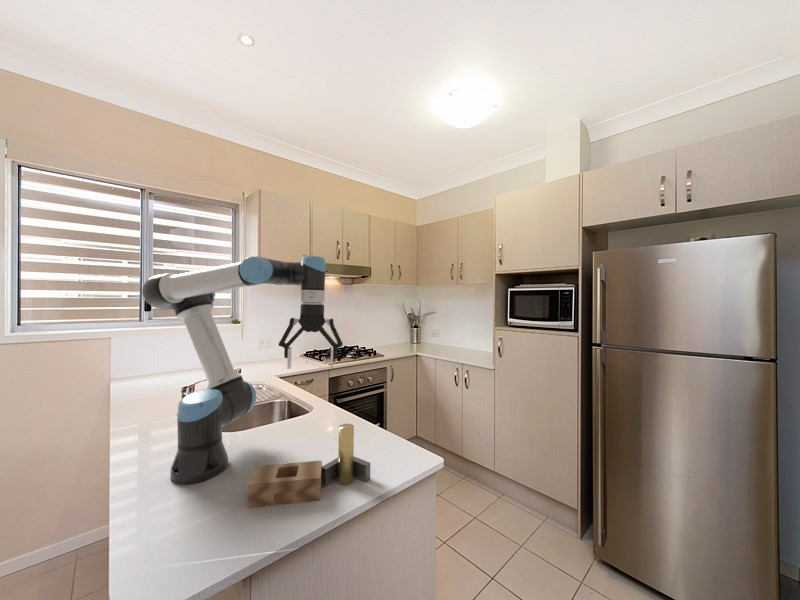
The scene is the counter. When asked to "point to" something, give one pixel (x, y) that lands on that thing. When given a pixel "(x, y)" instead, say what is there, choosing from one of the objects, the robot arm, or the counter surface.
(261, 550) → the counter surface
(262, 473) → the wooden block with hole
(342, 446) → the axle
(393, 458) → the counter surface
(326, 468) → the v block
